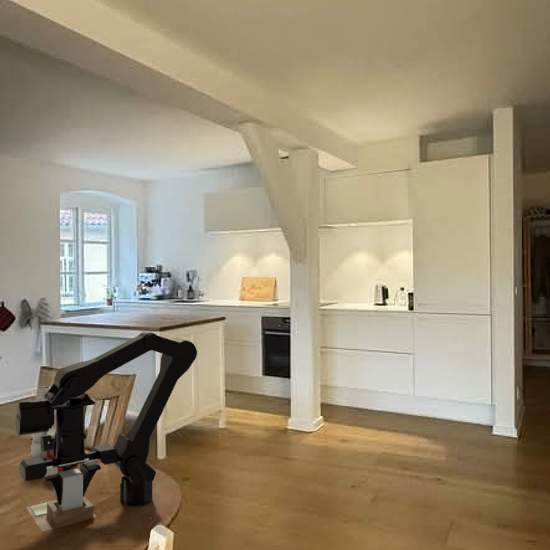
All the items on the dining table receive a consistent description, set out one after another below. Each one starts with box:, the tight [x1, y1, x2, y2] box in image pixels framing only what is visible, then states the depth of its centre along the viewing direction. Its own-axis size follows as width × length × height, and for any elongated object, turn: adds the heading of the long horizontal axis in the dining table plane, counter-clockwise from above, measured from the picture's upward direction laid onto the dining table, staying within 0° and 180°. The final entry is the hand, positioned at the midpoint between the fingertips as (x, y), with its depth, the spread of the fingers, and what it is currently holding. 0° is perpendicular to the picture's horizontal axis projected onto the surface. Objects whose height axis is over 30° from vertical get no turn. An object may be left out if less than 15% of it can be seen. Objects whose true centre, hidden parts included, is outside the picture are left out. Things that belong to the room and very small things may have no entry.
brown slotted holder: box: [25, 495, 98, 533], centre depth 114 cm, size 14×11×4 cm
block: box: [58, 468, 83, 512], centre depth 112 cm, size 4×4×9 cm
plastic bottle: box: [30, 385, 56, 460], centre depth 151 cm, size 6×7×20 cm
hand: (70, 501), depth 112 cm, fingers closed on block, 4 cm apart
